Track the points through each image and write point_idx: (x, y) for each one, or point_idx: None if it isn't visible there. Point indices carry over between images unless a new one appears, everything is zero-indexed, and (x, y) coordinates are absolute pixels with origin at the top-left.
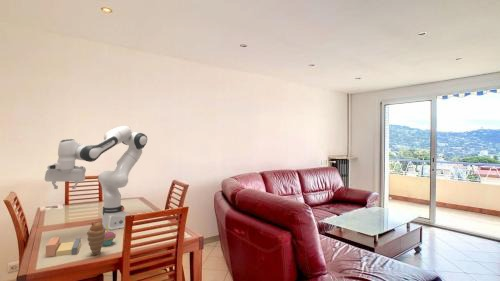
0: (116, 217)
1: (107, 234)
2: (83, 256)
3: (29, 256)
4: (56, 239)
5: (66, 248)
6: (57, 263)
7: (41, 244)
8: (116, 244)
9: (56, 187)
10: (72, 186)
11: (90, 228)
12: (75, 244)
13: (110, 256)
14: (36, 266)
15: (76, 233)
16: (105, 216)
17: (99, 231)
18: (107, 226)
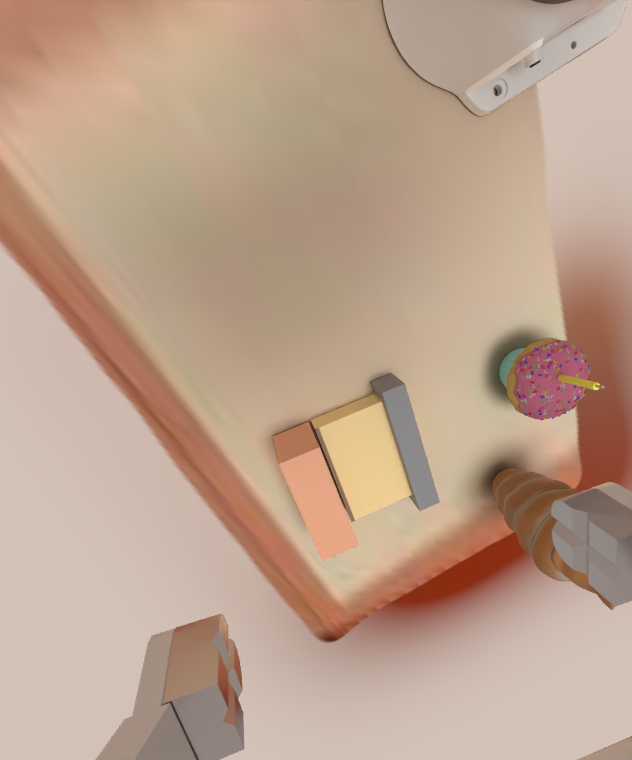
0: (573, 21)
1: (564, 405)
2: (458, 498)
3: (231, 520)
4: (324, 485)
5: (381, 487)
6: (388, 560)
7: (178, 384)
8: None
9: (235, 708)
10: (609, 599)
11: (574, 582)
12: (417, 470)
13: None
14: (326, 588)
15: (277, 183)
16: (489, 11)
17: None
18: (589, 387)
